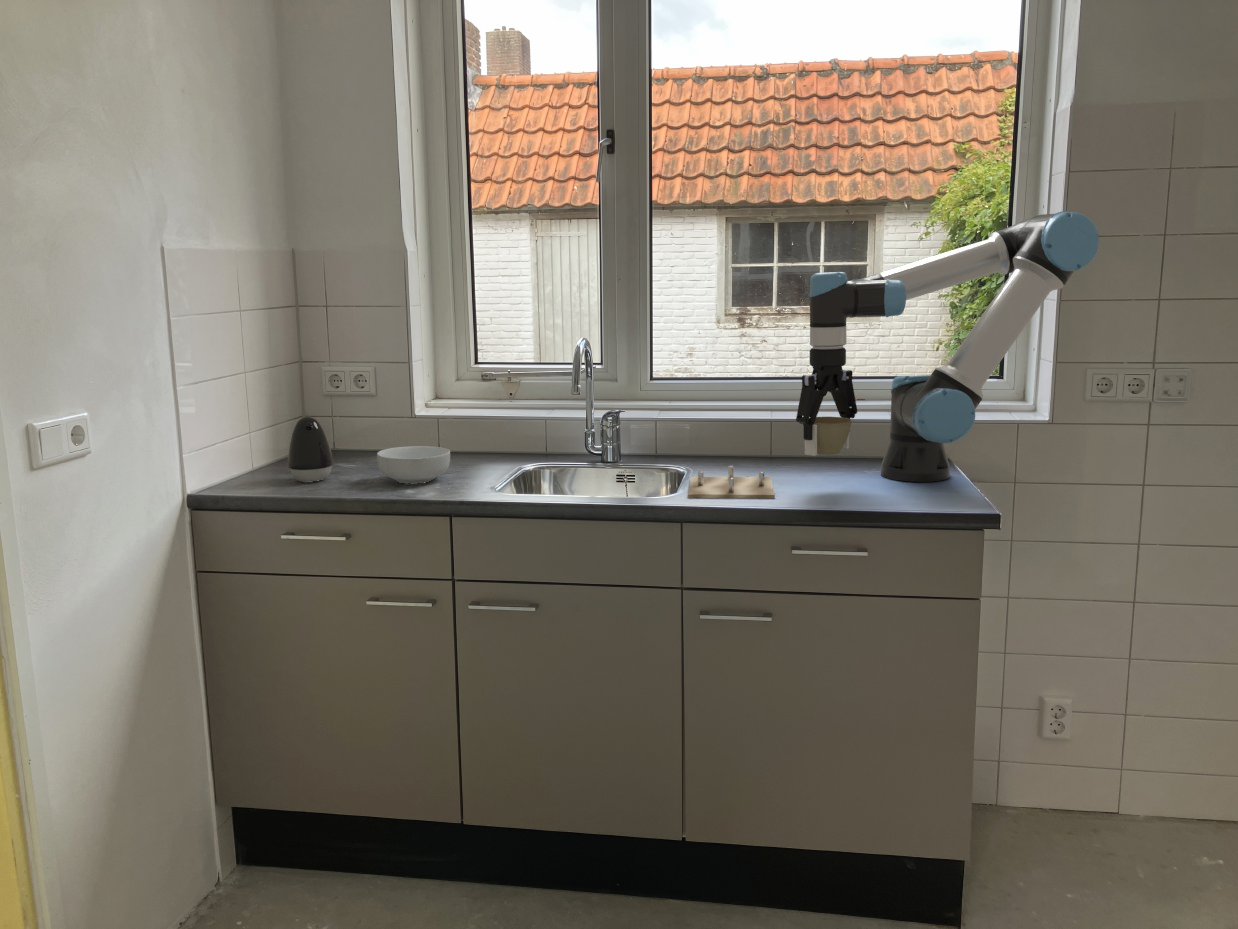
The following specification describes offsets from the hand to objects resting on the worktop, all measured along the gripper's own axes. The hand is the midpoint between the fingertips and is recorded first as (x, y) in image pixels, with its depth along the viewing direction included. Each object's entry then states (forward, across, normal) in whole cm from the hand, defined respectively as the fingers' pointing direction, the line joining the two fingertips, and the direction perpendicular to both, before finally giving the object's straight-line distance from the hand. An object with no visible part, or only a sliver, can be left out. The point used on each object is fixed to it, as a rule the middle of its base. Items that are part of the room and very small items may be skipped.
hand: (827, 451), depth 215 cm
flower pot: (+1, 0, 0) cm, 1 cm away
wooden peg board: (+8, +14, -15) cm, 22 cm away
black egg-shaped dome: (+7, +78, -89) cm, 119 cm away
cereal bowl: (+7, +60, -72) cm, 94 cm away
